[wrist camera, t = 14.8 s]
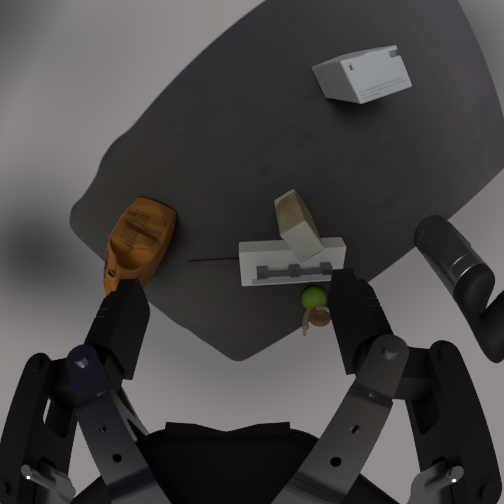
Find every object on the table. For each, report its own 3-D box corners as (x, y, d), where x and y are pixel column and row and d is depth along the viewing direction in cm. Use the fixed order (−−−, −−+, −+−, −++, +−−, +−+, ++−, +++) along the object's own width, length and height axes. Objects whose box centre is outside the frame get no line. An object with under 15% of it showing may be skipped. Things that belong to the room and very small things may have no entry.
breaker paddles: (329, 261, 54) (332, 267, 52) (329, 269, 55) (332, 274, 53) (256, 266, 54) (256, 271, 52) (256, 273, 55) (257, 279, 53)
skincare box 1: (311, 213, 52) (326, 250, 42) (291, 225, 54) (302, 265, 44) (292, 186, 49) (305, 219, 39) (272, 199, 51) (279, 235, 41)
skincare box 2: (324, 98, 40) (357, 109, 28) (309, 65, 37) (337, 61, 25) (368, 82, 38) (414, 89, 26) (354, 49, 35) (397, 43, 23)
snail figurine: (294, 283, 62) (303, 325, 52) (323, 279, 62) (336, 320, 52) (295, 301, 65) (303, 342, 55) (323, 297, 65) (334, 338, 55)
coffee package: (117, 238, 54) (72, 317, 36) (137, 187, 49) (83, 259, 30) (160, 259, 58) (130, 344, 39) (185, 211, 52) (155, 295, 34)
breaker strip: (341, 237, 55) (346, 247, 52) (336, 269, 60) (341, 280, 57) (185, 245, 56) (181, 256, 53) (191, 277, 60) (189, 288, 57)
